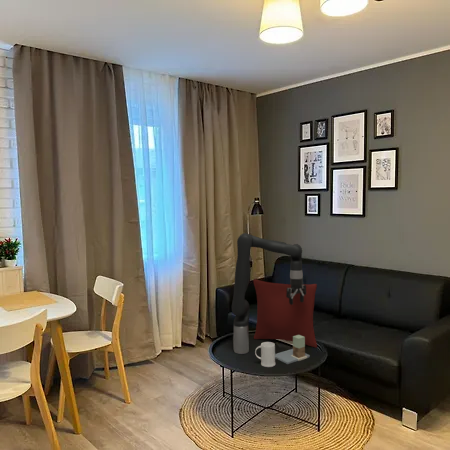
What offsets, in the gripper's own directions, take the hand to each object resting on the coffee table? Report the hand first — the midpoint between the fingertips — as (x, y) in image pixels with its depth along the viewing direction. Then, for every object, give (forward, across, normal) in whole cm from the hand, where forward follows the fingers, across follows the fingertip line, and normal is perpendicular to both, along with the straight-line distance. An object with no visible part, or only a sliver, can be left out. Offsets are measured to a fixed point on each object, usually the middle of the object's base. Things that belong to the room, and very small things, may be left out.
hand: (296, 303), depth 267 cm
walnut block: (+31, +3, +5) cm, 32 cm away
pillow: (+32, -7, -19) cm, 38 cm away
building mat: (+32, +6, +1) cm, 33 cm away
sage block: (+25, +3, +5) cm, 26 cm away
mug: (+32, +25, 0) cm, 41 cm away
